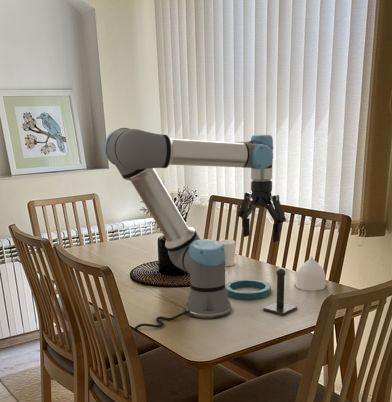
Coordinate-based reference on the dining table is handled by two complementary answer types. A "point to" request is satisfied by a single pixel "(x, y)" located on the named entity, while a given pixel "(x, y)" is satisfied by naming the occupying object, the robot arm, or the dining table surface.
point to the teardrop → (310, 276)
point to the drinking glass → (229, 251)
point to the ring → (249, 283)
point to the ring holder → (280, 297)
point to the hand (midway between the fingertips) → (260, 238)
